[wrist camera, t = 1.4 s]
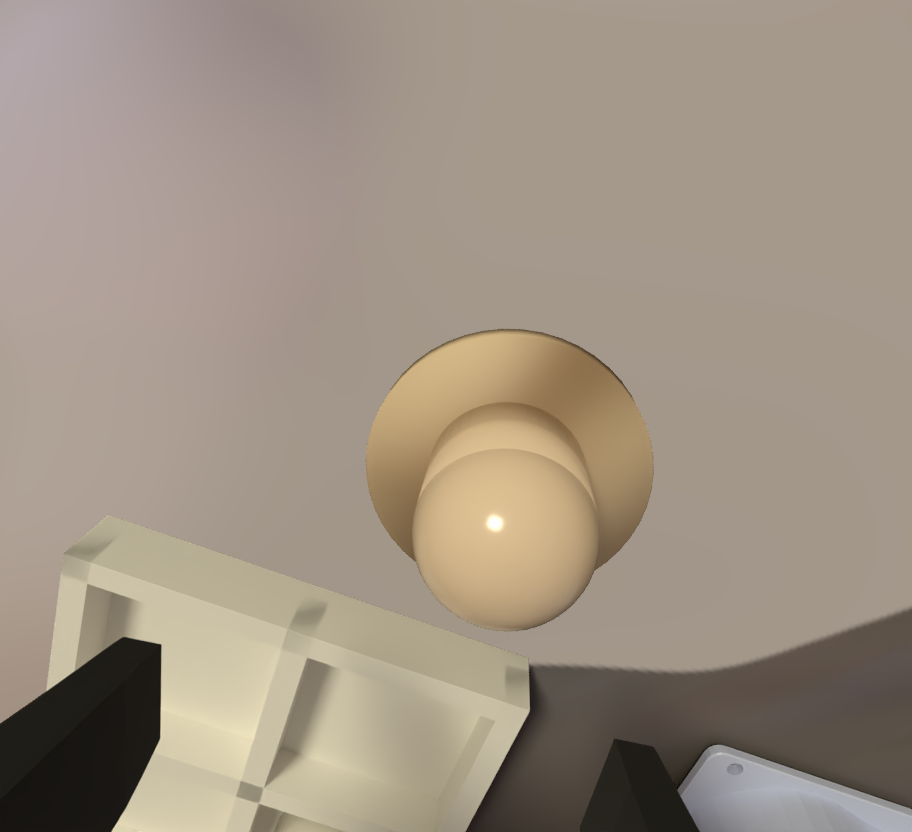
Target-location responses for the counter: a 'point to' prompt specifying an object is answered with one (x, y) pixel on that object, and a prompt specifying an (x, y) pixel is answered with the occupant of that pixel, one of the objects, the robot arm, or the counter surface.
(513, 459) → the egg
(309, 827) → the egg
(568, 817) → the counter surface
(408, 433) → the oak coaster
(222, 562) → the egg box
